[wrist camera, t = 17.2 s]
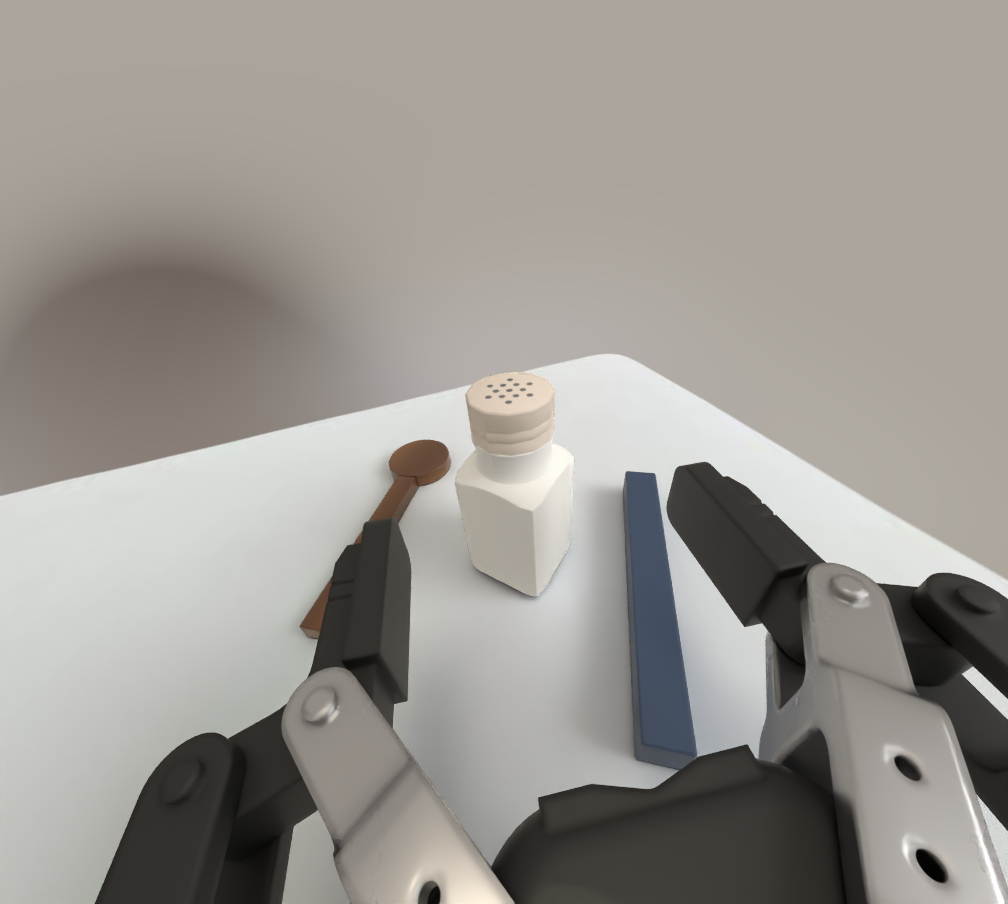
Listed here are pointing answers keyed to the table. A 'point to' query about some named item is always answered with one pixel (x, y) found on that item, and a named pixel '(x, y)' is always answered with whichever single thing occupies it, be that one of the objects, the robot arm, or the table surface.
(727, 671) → the table surface
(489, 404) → the salt shaker
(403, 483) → the wooden spoon
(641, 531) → the blue stick
